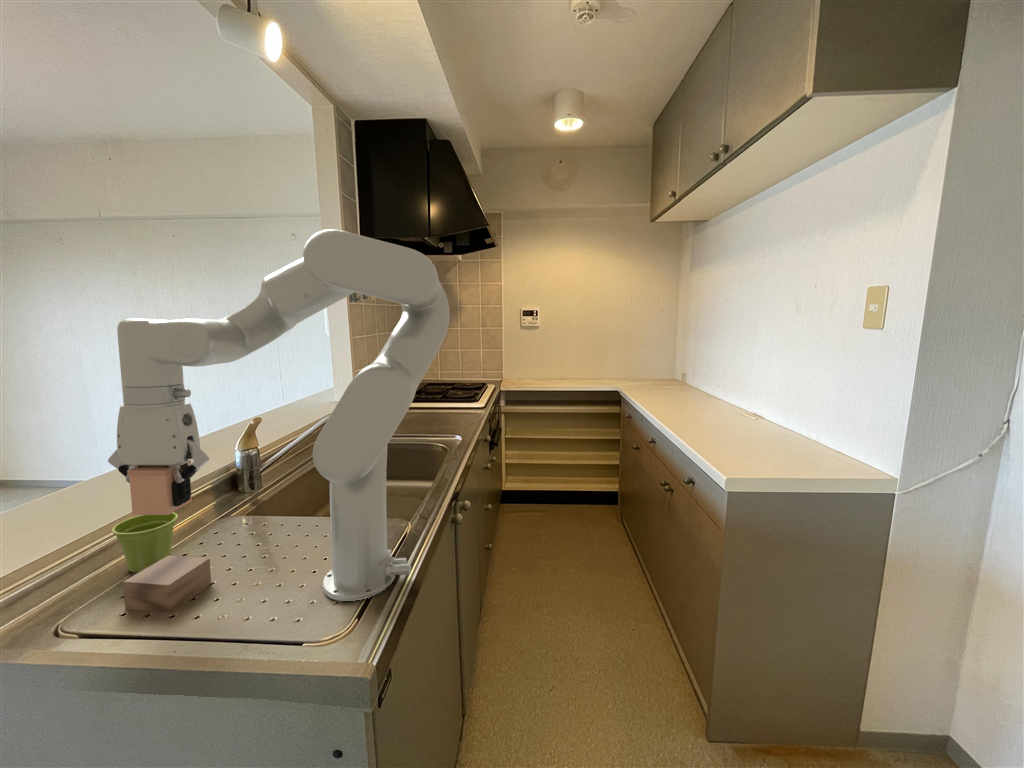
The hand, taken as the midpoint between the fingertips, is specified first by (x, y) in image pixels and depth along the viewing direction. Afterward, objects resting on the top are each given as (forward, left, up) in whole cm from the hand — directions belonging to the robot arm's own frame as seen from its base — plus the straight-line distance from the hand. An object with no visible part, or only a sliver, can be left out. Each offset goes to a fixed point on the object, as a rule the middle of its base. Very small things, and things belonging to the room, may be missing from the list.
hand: (162, 502), depth 68 cm
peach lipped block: (0, 0, -1) cm, 1 cm away
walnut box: (0, 0, -17) cm, 17 cm away
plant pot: (+11, -10, -17) cm, 23 cm away
